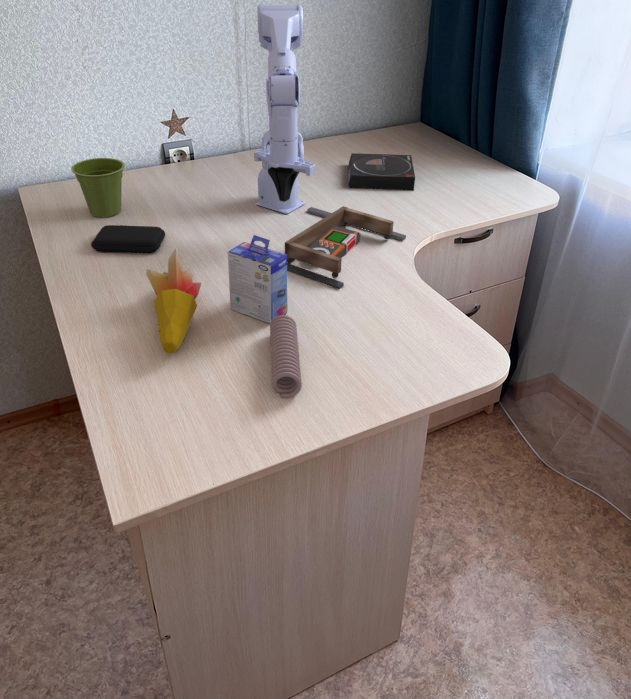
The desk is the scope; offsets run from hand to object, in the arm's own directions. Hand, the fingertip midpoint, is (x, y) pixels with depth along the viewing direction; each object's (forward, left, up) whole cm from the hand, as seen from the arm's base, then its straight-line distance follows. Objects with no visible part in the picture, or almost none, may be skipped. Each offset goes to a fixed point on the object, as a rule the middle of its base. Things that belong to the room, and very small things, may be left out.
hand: (284, 199), depth 143 cm
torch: (+4, -39, -10) cm, 40 cm away
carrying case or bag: (-26, -22, -10) cm, 35 cm away
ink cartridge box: (+14, -27, -10) cm, 32 cm away
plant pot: (-43, -14, -10) cm, 46 cm away
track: (+9, +2, -9) cm, 13 cm away
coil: (+28, -37, -10) cm, 47 cm away
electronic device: (+12, +1, -10) cm, 15 cm away
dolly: (+13, +2, -9) cm, 16 cm away
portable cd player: (-1, +44, -10) cm, 45 cm away
